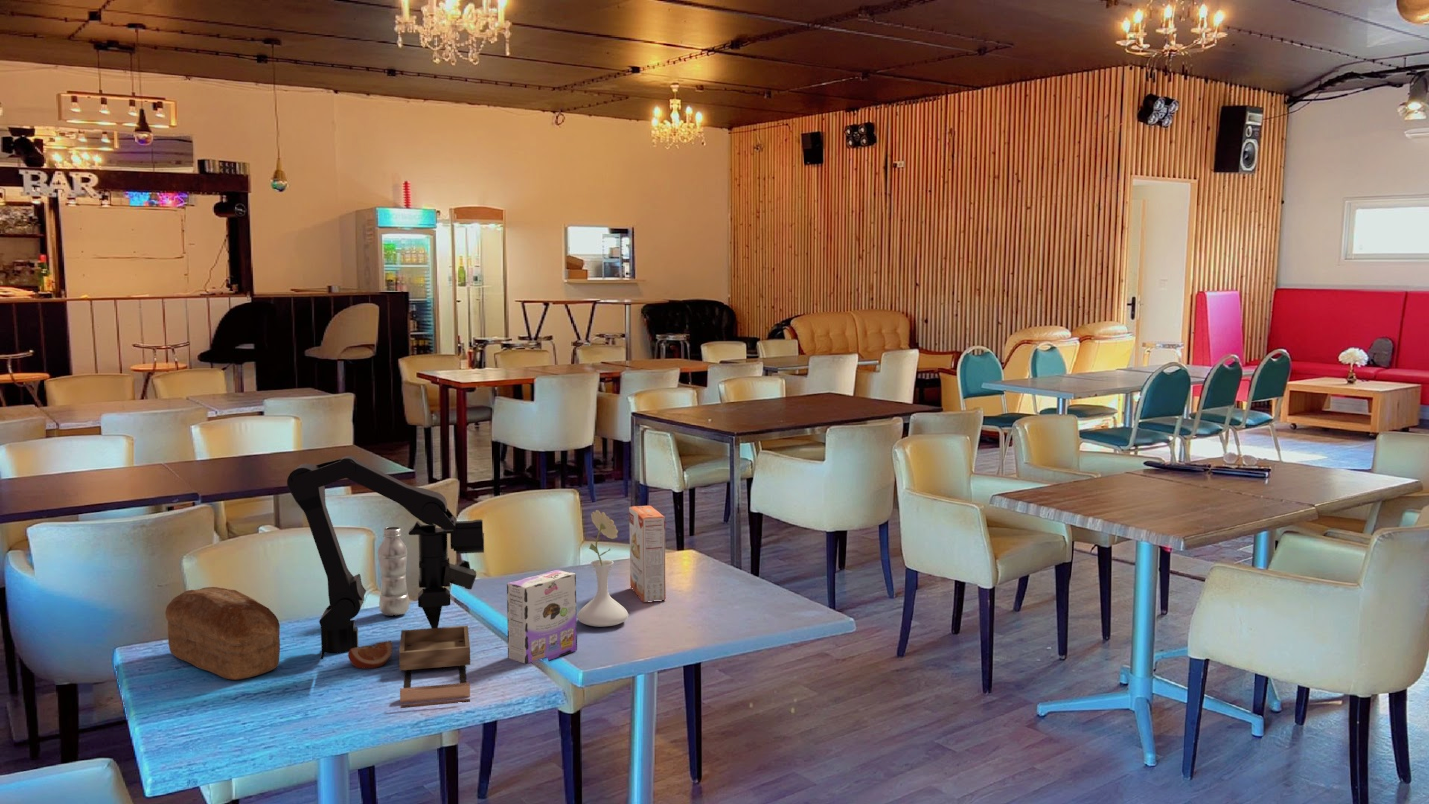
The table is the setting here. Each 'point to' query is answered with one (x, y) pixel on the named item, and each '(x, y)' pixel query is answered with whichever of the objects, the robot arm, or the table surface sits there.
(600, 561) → the flower in vase
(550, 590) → the candy box
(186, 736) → the table surface
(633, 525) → the cracker box
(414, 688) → the rail track
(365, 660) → the fruit slice
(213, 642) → the bread
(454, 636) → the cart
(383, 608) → the plastic bottle
